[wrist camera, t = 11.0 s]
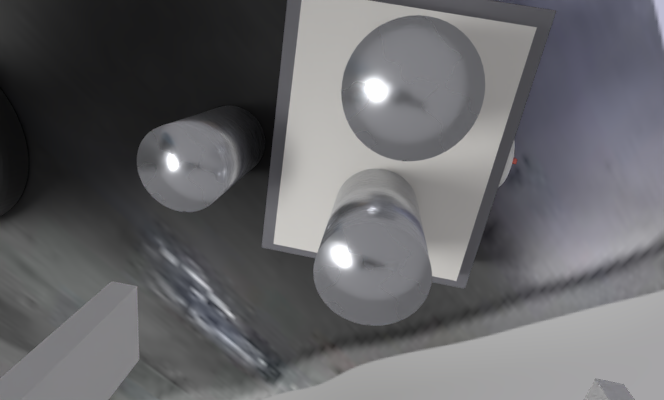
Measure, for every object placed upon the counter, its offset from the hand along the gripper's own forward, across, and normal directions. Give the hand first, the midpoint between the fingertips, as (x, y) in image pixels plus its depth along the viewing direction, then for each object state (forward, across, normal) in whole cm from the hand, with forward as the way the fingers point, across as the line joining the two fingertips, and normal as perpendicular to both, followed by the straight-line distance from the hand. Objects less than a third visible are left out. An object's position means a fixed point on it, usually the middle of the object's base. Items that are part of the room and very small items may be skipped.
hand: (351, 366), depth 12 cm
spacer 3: (+14, +1, 0) cm, 14 cm away
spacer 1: (+19, -10, +1) cm, 22 cm away
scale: (+19, +1, +3) cm, 19 cm away
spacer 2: (+14, +1, +7) cm, 15 cm away
